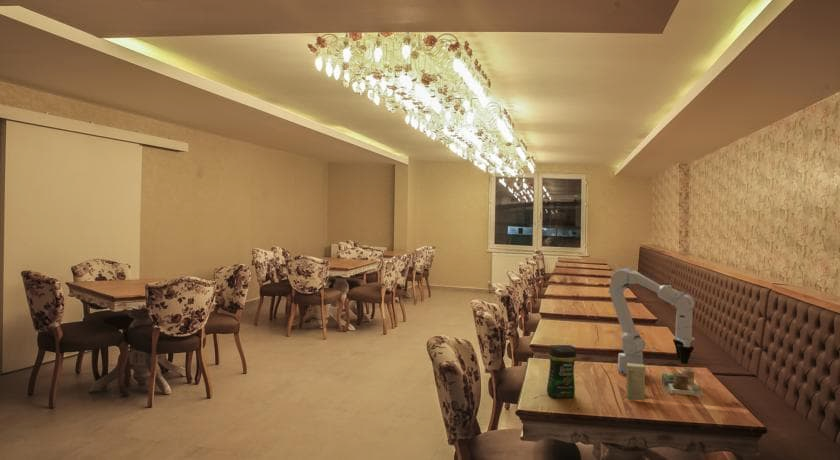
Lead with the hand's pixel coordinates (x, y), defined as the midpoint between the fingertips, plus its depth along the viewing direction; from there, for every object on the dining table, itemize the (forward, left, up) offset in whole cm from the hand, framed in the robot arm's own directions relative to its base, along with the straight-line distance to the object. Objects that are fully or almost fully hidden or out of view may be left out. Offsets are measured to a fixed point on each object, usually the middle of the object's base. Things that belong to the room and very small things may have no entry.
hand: (682, 360), depth 213 cm
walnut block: (-2, -10, -9) cm, 13 cm away
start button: (-5, -2, -8) cm, 9 cm away
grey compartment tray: (-1, -7, -10) cm, 12 cm away
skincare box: (-19, -20, -10) cm, 29 cm away
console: (-5, -2, -9) cm, 10 cm away
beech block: (+1, -3, -9) cm, 9 cm away
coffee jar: (-45, -26, -10) cm, 53 cm away
